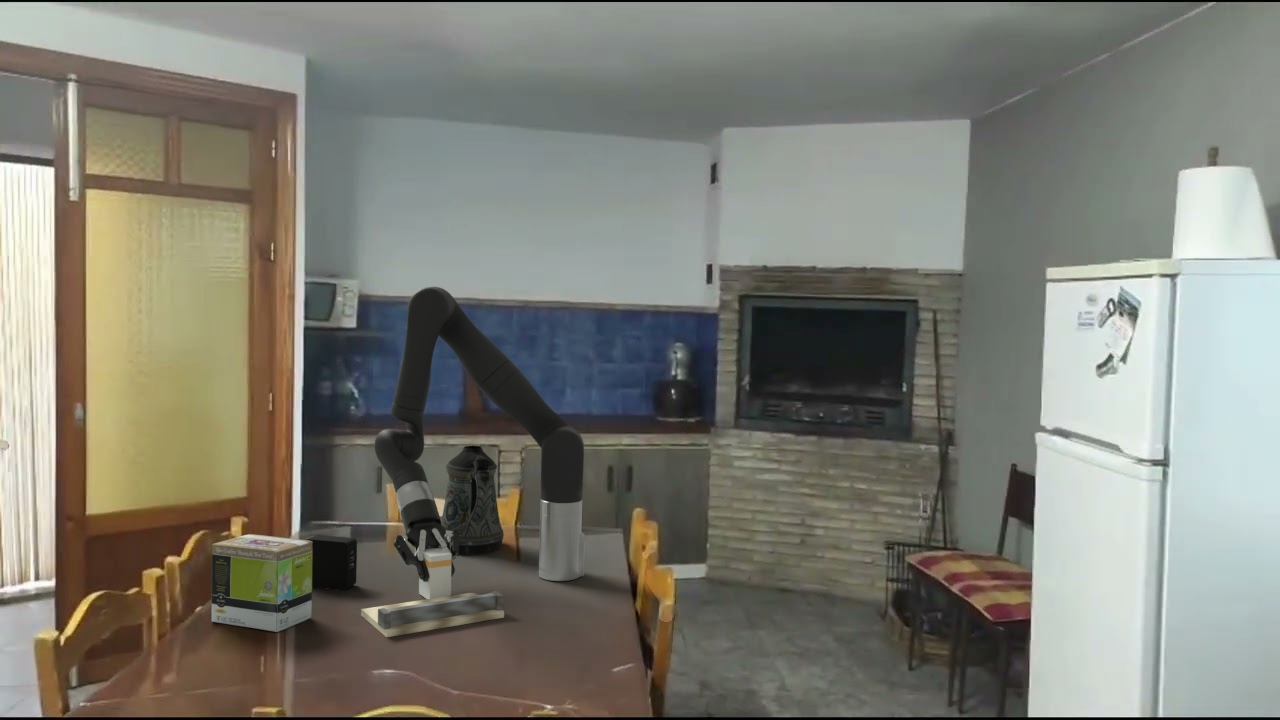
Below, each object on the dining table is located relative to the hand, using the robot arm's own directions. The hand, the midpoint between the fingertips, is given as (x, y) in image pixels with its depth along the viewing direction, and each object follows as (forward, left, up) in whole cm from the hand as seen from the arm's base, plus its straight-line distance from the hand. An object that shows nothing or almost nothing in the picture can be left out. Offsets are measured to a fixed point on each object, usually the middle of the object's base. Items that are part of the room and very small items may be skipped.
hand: (438, 577), depth 189 cm
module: (0, -2, -4) cm, 5 cm away
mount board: (+5, +10, -4) cm, 12 cm away
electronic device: (+16, -19, -5) cm, 26 cm away
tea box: (+33, -3, -5) cm, 34 cm away
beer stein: (-24, -35, -5) cm, 43 cm away
